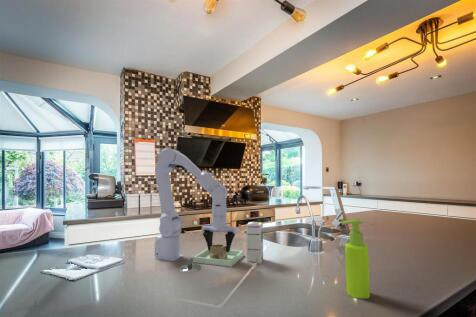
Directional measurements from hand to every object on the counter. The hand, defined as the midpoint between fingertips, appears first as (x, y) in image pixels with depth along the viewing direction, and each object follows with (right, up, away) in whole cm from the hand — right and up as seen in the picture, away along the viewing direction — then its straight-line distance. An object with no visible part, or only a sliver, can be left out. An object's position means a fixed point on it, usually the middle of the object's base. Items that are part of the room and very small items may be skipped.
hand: (219, 250), depth 99 cm
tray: (0, -4, 0) cm, 4 cm away
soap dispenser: (+40, -2, -29) cm, 50 cm away
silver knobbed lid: (-9, -3, -11) cm, 15 cm away
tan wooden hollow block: (0, -3, 0) cm, 3 cm away
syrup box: (+14, -4, -1) cm, 15 cm away
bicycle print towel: (-48, -4, -8) cm, 49 cm away
